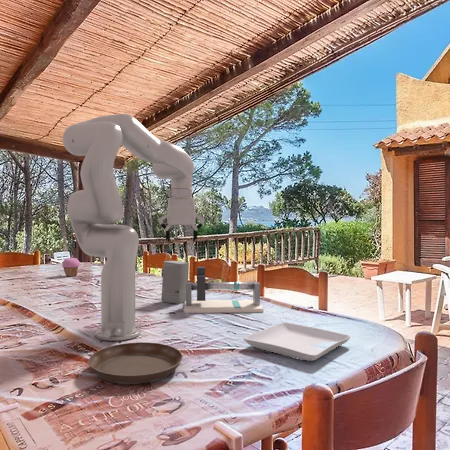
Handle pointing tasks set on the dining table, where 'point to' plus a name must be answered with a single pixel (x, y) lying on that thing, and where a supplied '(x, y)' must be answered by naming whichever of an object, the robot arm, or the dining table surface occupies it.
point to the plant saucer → (135, 362)
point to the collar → (200, 283)
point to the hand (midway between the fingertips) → (181, 241)
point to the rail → (225, 286)
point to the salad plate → (295, 340)
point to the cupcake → (71, 266)
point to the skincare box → (174, 281)
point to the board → (222, 306)
